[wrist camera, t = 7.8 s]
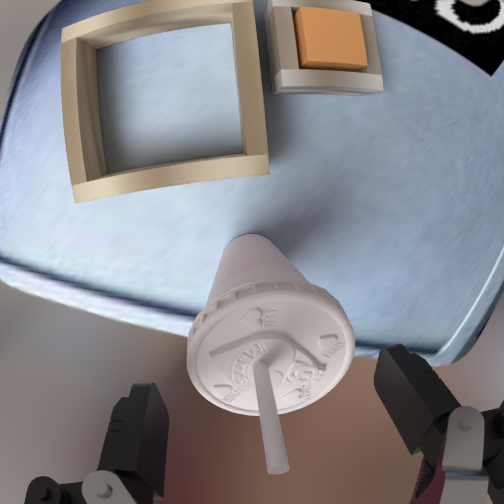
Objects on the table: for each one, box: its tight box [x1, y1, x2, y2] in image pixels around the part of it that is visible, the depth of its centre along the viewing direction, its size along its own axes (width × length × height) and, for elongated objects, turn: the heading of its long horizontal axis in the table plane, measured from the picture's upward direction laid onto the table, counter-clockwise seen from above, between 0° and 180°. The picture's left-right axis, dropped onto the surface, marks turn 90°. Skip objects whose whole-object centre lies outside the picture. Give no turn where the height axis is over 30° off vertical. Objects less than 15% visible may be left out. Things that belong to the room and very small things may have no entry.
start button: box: [292, 6, 368, 72], centre depth 12 cm, size 3×3×2 cm
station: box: [61, 0, 384, 204], centre depth 14 cm, size 17×10×3 cm, turn 95°
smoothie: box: [187, 234, 355, 474], centre depth 13 cm, size 6×6×14 cm
